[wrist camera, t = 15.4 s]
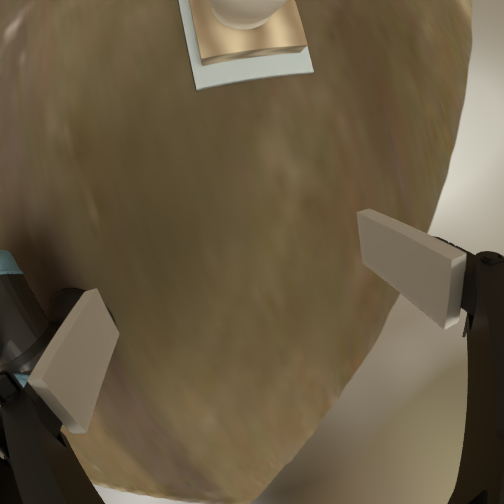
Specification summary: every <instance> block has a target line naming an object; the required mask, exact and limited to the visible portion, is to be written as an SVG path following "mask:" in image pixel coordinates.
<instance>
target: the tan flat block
mask: <svg viewBox="0 0 504 504" xmlns="http://www.w3.org/2000/svg"><path fill="white" fill-rule="evenodd" d="M189 5H190V10H191V15H192V20H193V25H194V29H195V34H196V39H197V44H198V49H199V53H200V58H201V63H202V66H207V65H211V64H216V63H222V62H227V61H233V60H239V59H246V58H253V57H261V56H269V55H279V54H291V53H300V52H301V51H302V50H303V49H304V48H305V47H306V46H307V41H306V37H305V33H304V30H303V26H302V23H301V19H300V16H299V13H298V9H297V6H296V3H295V0H288V1H287V2H286V3H285V4H284V5H283V6H282V7H280V8H279V9H278V10H277V11H276V12H275V13H274V14H272V15H271V17H270V19H269V20H268V21H267V22H266V23H265V24H263V25H261V26H259V27H257V28H254V29H249V30H238V29H233V28H229V27H227V26H225V25H223V24H221V23H220V22H219V21H218V20H217V19H216V18H215V16H214V14H213V11H212V5H211V3H210V1H209V0H189Z"/></svg>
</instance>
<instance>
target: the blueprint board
mask: <svg viewBox="0 0 504 504" xmlns="http://www.w3.org/2000/svg"><path fill="white" fill-rule="evenodd" d="M179 5H180V10H181V15H182V20H183V26H184V31H185V36H186V41H187V46H188V51H189V55H190V60H191V65H192V70H193V75H194V80H195V84H196V89H197V91H199V90H203V89H208V88H213V87H217V86H222V85H228V84H233V83H239V82H245V81H251V80H257V79H265V78H272V77H280V76H290V75H300V74H311V73H313V72H314V71H313V67H312V63H311V59H310V55H309V51H308V47H307V46H306V47H305V48H304V49H303V50H302V51H301V52H300V53H291V54H279V55H269V56H261V57H253V58H246V59H239V60H233V61H227V62H222V63H216V64H211V65H207V66H202V63H201V58H200V53H199V49H198V44H197V39H196V34H195V29H194V25H193V20H192V15H191V10H190V5H189V0H179Z"/></svg>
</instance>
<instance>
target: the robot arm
mask: <svg viewBox="0 0 504 504" xmlns="http://www.w3.org/2000/svg"><path fill="white" fill-rule="evenodd" d="M356 213H357V220H358V228H359V236H360V245H361V254H362V263H363V264H364V265H366V266H367V267H368V268H369V269H371V270H372V271H373V272H375V273H376V274H377V275H378V276H380V277H381V278H382V279H383V280H385V281H386V282H387V283H388V284H390V285H391V286H392V287H393V288H395V289H396V290H397V291H398V292H400V293H401V294H402V295H403V296H405V297H406V298H407V299H408V300H409V301H411V302H412V303H413V304H414V305H415V306H417V307H418V308H419V309H420V310H421V311H423V312H424V313H425V314H426V315H427V316H429V317H430V318H431V319H432V320H433V321H434V322H436V323H437V324H438V325H439V326H440V327H441V328H442V329H444V330H445V329H447V328H449V327H450V326H452V325H454V324H455V323H457V322H458V321H459V315H460V310H461V308H462V309H464V310H465V311H466V312H467V317H466V322H465V328H464V332H463V337H465V335H466V333H467V350H468V394H467V412H466V424H465V433H464V441H463V449H462V455H461V461H460V467H459V473H458V477H457V482H456V486H455V489H454V492H453V493H452V495H451V497H450V499H449V502H448V504H504V257H503V256H502V255H500V254H499V253H496V252H490V251H484V252H480V253H477V254H476V255H474V254H472V253H470V252H468V251H466V250H464V249H462V248H460V247H458V246H455V245H454V244H452V243H448V242H447V241H446V240H443V239H441V238H439V237H434V236H431V235H428V234H426V233H424V232H422V231H420V230H418V229H415V228H413V227H411V226H409V225H407V224H404V223H402V222H400V221H397V220H395V219H393V218H391V217H388V216H386V215H383V214H381V213H379V212H376V211H374V210H371V209H367V210H363V211H359V212H356ZM119 334H120V333H119V331H118V329H117V328H116V324H115V321H114V318H113V316H112V314H111V313H110V311H109V310H108V308H107V307H106V306H105V304H104V302H103V300H102V298H101V296H100V294H99V292H98V289H97V288H95V289H92V290H89V291H83V290H80V289H73V288H70V289H64V290H61V291H59V292H58V293H57V294H55V295H54V297H53V298H52V299H51V300H50V301H49V303H48V305H47V307H46V310H45V313H44V311H43V310H42V308H41V306H40V304H39V303H38V301H37V299H36V298H35V296H34V294H33V292H32V290H31V289H30V287H29V285H28V283H27V281H26V279H25V277H24V273H23V272H22V271H21V270H20V268H19V267H18V265H17V263H16V261H15V259H14V257H13V256H12V254H11V253H10V252H9V251H7V250H0V369H1V371H0V405H1V407H0V451H1V452H2V453H3V454H4V459H2V458H1V457H0V504H105V503H104V502H103V500H102V498H101V497H100V495H99V494H98V492H97V491H96V489H95V488H94V486H93V485H92V483H91V481H90V480H89V478H88V476H87V475H86V473H85V471H84V470H83V468H82V466H81V464H80V463H79V461H78V459H77V457H76V455H75V454H74V452H73V450H72V448H71V446H70V444H69V442H68V440H67V438H66V436H65V435H64V434H63V433H62V432H61V431H60V429H61V426H62V425H64V426H65V427H66V428H67V429H68V430H69V431H70V432H71V433H72V434H76V433H87V432H88V428H89V424H90V421H91V418H92V414H93V411H94V407H95V404H96V401H97V398H98V395H99V391H100V388H101V385H102V382H103V379H104V376H105V373H106V370H107V367H108V365H109V362H110V359H111V356H112V353H113V351H114V348H115V345H116V342H117V340H118V337H119Z"/></svg>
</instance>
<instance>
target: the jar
mask: <svg viewBox="0 0 504 504" xmlns="http://www.w3.org/2000/svg"><path fill="white" fill-rule="evenodd" d="M209 1H210V3H211V5H212V11H213V14H214V16H215V18H216V19H217V20H218V21H219V22H220V23H221V24H223V25H225V26H227V27H229V28H233V29H238V30H249V29H254V28H257V27H259V26H261V25H263V24H265V23H266V22H267V21H268V20H269V19H270V17H271V15H272V14H274V13H275V12H276V11H277V10H278V9H279V8H280V7H282V6H283V5H284V4H285V3H286V2H287V1H288V0H209Z"/></svg>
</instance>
